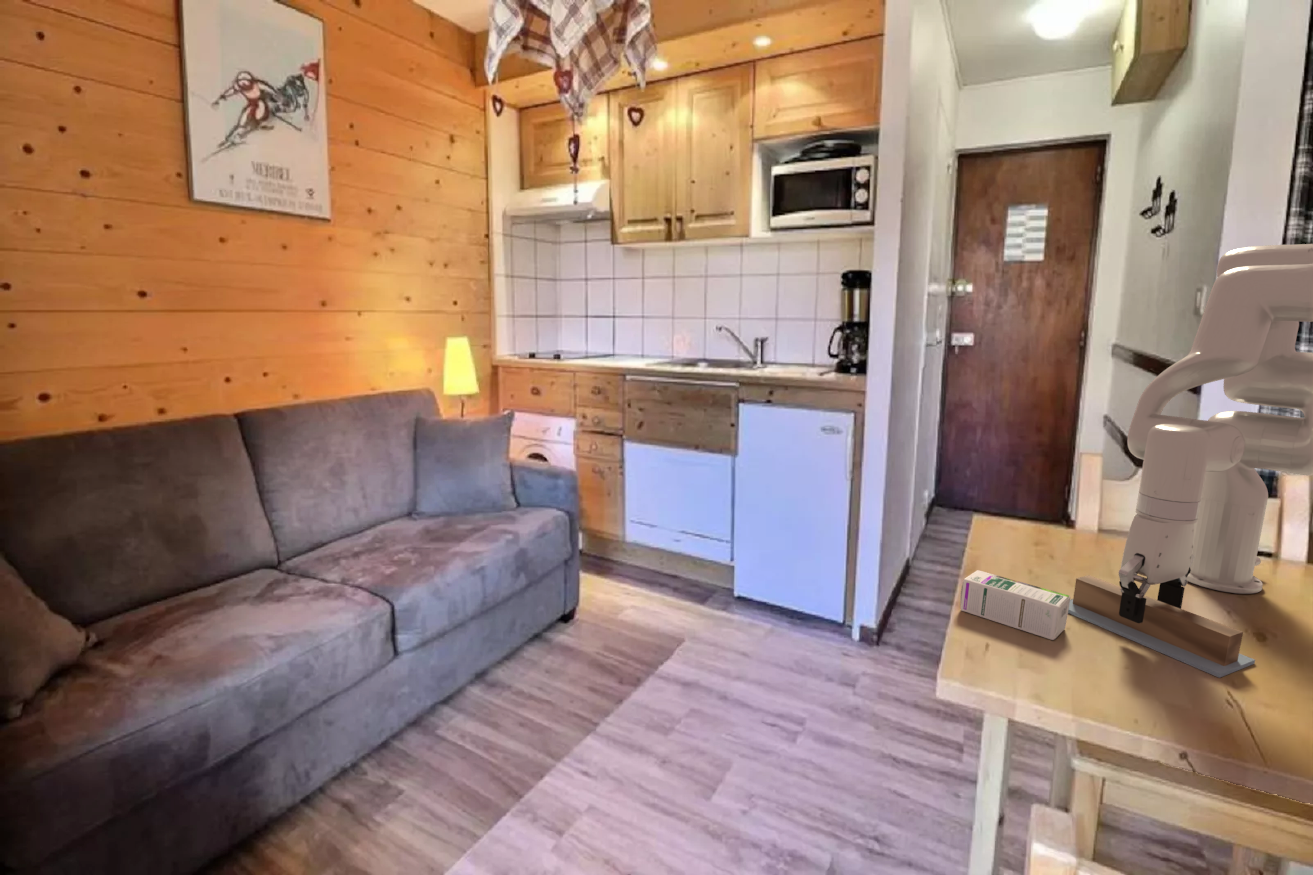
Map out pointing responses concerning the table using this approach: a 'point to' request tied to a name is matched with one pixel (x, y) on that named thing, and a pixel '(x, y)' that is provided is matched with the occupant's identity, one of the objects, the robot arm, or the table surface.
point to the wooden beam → (1163, 622)
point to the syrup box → (1015, 604)
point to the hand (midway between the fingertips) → (1149, 613)
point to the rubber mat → (1160, 644)
